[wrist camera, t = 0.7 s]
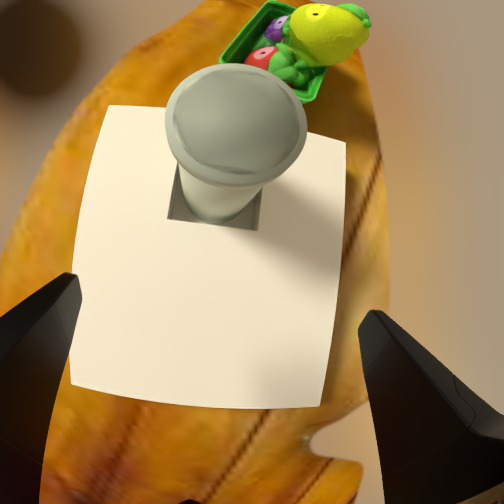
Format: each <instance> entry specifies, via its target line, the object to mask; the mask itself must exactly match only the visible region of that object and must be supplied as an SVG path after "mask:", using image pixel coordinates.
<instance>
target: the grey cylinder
mask: <svg viewBox="0 0 504 504" xmlns="http://www.w3.org/2000/svg"><path fill="white" fill-rule="evenodd" d="M165 130H166V135H167V141H168V144H169V147H170V150H171V152H172V154H173V156H174V157H175V159H176V160H177V162H178V164H179V171H180V178H181V184H182V190H183V196H184V201H185V204H186V206H187V208H188V209H189V211H190V212H191V213H192V214H193V215H194V216H195V217H197V218H198V219H200V220H202V221H205V222H208V223H224V222H227V221H230V220H232V219H234V218H235V217H236V216H238V215H239V214H240V213H241V212H242V210H243V209H244V208H245V207H246V206H247V204H248V203H249V202H250V201H251V200H252V198H253V197H254V196H255V195H256V194H257V192H258V191H259V190H260V189H261V188H262V186H263V185H265V184H267V183H269V182H272V181H273V180H275V179H276V178H278V177H279V176H281V175H282V174H283V173H284V172H285V171H286V170H287V169H288V168H289V167H290V166H291V165H292V164H293V163H294V162H295V161H296V159H297V158H298V157H299V155H300V153H301V152H302V150H303V147H304V145H305V142H306V138H307V119H306V114H305V111H304V108H303V106H302V104H301V102H300V100H299V98H298V97H297V95H296V94H295V93H294V91H293V90H292V89H291V88H290V87H289V86H288V85H287V84H286V83H285V82H284V81H282V80H281V79H280V78H278V77H277V76H275V75H273V74H272V73H270V72H268V71H266V70H263V69H261V68H258V67H255V66H250V65H246V64H237V63H227V64H218V65H213V66H210V67H207V68H204V69H201V70H199V71H197V72H195V73H193V74H192V75H190V76H189V77H187V78H186V79H185V80H183V81H182V82H181V83H180V84H179V85H178V86H177V88H176V89H175V90H174V92H173V93H172V95H171V97H170V99H169V101H168V104H167V107H166V111H165Z"/></svg>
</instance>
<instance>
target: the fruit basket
mask: <svg viewBox="0 0 504 504" xmlns="http://www.w3.org/2000/svg"><path fill="white" fill-rule="evenodd" d="M371 26H372V25H371V22H370V20H369V16H368V14H367V13H366V11H365V10H364V9H363V8H361V7H358V6H357V5H354V4H350V3H347V4H340V5H338V6H337V7H336V6H331V5H327V4H307V5H303V6H301V7H299V8H298V9H297V8H294V7H292V6H290V5H288V4H285V3H282V2H279V1H275V0H269V1H267V2H265V3H264V5H263V6H262V7H261V8H260V9H259V10H258V11H257V13H256V14H255V15H254V16H253V17H252V18H251V19H250V21H249V22H248V23H247V24H246V25H245V26H244V27H243V29H242V30H241V31H240V32H239V34H238V35H237V36H236V37H235V39H234V40H233V41H232V42H231V43H230V45H229V46H228V47H227V49H226V50H225V51H224V52H223V53H222V55H221V56H220V58H219V63H220V64H227V63H237V64H246V65H250V66H255V67H258V68H261V69H263V70H266V71H268V72H270V73H272V74H273V75H275V76H277V77H278V78H280V79H281V80H282V81H284V82H285V83H286V84H287V85H288V86H289V87H290V88H291V89H292V90H293V91H294V93H295V94H296V95H297V97H298V98H299V100H300V102H301V104H306V103H308V102H311V101H313V100H314V99H315V98H316V95H317V93H318V90H319V88H320V85H321V83H322V80H323V78H324V75H325V73H326V71H327V69H328V66H329V65H334V64H337V63H340V62H342V61H344V60H345V59H347V58H348V57H349V56H350V55H351V54H352V52H353V51H354V50H355V49H357V48H359V47H361V46H362V45H363V44H364V43H365V42H366V41H367V39H368V36H369V27H371Z"/></svg>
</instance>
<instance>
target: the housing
mask: <svg viewBox="0 0 504 504" xmlns="http://www.w3.org/2000/svg"><path fill="white" fill-rule="evenodd" d="M165 111H166V108H159V107H143V106H116V105H109V107H108V110H107V113H106V115H105V118H104V121H103V124H102V127H101V130H100V134H99V137H98V140H97V143H96V147H95V150H94V154H93V157H92V161H91V165H90V169H89V173H88V177H87V181H86V186H85V190H84V195H83V200H82V205H81V210H80V215H79V221H78V227H77V233H76V240H75V248H74V256H73V265H72V273H74V274H76V275H78V278H79V282H80V287H81V292H82V304H81V308H80V312H79V315H78V319H77V323H76V327H75V332H74V336H73V340H72V344H71V348H70V351H69V354H70V374H71V384H73V385H76V386H80V387H84V388H88V389H92V390H96V391H101V392H105V393H110V394H115V395H120V396H125V397H130V398H136V399H142V400H148V401H155V402H163V403H171V404H179V405H189V406H201V407H216V408H240V409H276V408H301V407H316V406H319V405H320V401H321V396H322V391H323V386H324V380H325V375H326V370H327V364H328V358H329V352H330V346H331V340H332V333H333V326H334V319H335V311H336V303H337V295H338V286H339V276H340V266H341V255H342V242H343V227H344V208H345V179H346V142H342V141H339V140H335V139H332V138H328V137H325V136H321V135H317V134H314V133H310V132H307V138H306V142H305V145H304V147H303V150H302V152H301V153H300V155H299V157H298V158H297V159H296V161H295V162H294V163H293V164H292V165H291V166H290V167H289V168H288V169H287V170H286V171H285V172H284V173H283V174H282V175H281V176H279V177H278V178H276V179H275V180H273V181H272V182H269V183H267V184H265V185H263V186H262V188H261V189H260V190H259V191H258V192H257V194H256V195H255V196H254V197H253V198H252V200H251V201H250V202H249V203H248V204H247V206H246V207H245V208H244V209H243V210H242V212H241V213H240V214H239V215H238V216H236V217H235V218H234V219H232V220H230V221H227V222H224V223H208V222H205V221H202V220H200V219H198V218H197V217H195V216H194V215H193V214H192V213H191V212H190V211H189V209H188V208H187V206H186V204H185V201H184V196H183V190H182V184H181V178H180V171H179V164H178V162H177V160H176V159H175V157H174V156H173V154H172V152H171V150H170V147H169V144H168V141H167V135H166V130H165Z"/></svg>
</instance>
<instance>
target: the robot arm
mask: <svg viewBox="0 0 504 504" xmlns="http://www.w3.org/2000/svg"><path fill="white" fill-rule="evenodd" d="M81 304H82V292H81V287H80V282H79V278H78V275H76V274H74V273H68V272H65V273H63V274H61V275H60V276H58V277H57V278H55V279H54V280H52V281H51V282H49V283H48V284H46V285H45V286H43V287H42V288H40V289H39V290H37V291H36V292H34V293H33V294H32V295H30V296H29V297H27V298H26V299H25V300H23V301H22V302H20V303H19V304H18V305H16V306H15V307H13V308H12V309H11V310H9V311H8V312H7V313H5V314H4V315H3V316H1V317H0V504H39V493H40V482H41V473H42V464H43V458H44V451H45V445H46V440H47V435H48V430H49V425H50V420H51V416H52V411H53V407H54V403H55V399H56V395H57V391H58V388H59V384H60V381H61V377H62V374H63V370H64V367H65V364H66V361H67V358H68V354H69V351H70V348H71V344H72V340H73V336H74V332H75V327H76V323H77V319H78V315H79V312H80V308H81ZM358 337H359V344H360V352H361V359H362V367H363V373H364V378H365V383H366V388H367V392H368V397H369V402H370V407H371V412H372V417H373V422H374V428H375V434H376V440H377V446H378V452H379V459H380V465H381V473H382V482H383V490H384V499H385V504H504V415H502V414H500V413H498V412H497V411H496V410H495V409H494V408H492V407H491V406H490V405H489V404H488V403H486V402H485V401H484V400H483V399H481V398H480V397H479V396H478V395H476V394H475V393H474V392H473V391H472V390H471V389H469V388H468V387H467V386H466V385H465V384H464V383H463V382H462V381H461V380H459V379H458V378H457V377H456V376H455V375H454V374H453V373H452V372H451V371H450V370H449V369H448V368H447V367H445V366H444V365H443V364H442V363H441V362H440V361H439V360H437V358H435V357H434V356H433V355H432V354H431V353H430V352H429V351H428V350H427V349H425V348H424V347H423V346H422V345H421V344H420V343H419V342H417V341H416V340H415V339H414V338H413V337H412V336H411V335H410V334H408V333H407V332H406V331H405V330H404V329H403V328H402V327H400V326H399V325H398V324H397V323H396V322H395V321H393V320H392V319H391V318H390V317H389V316H388V315H386V314H385V313H384V312H383V311H381V310H370V311H369V312H368V313H367V315H366V316H365V318H364V319H363V321H362V322H361V324H360V326H359V328H358ZM179 504H197V503H195V502H193V501H191V500H186V501H183V502H181V503H179Z"/></svg>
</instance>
